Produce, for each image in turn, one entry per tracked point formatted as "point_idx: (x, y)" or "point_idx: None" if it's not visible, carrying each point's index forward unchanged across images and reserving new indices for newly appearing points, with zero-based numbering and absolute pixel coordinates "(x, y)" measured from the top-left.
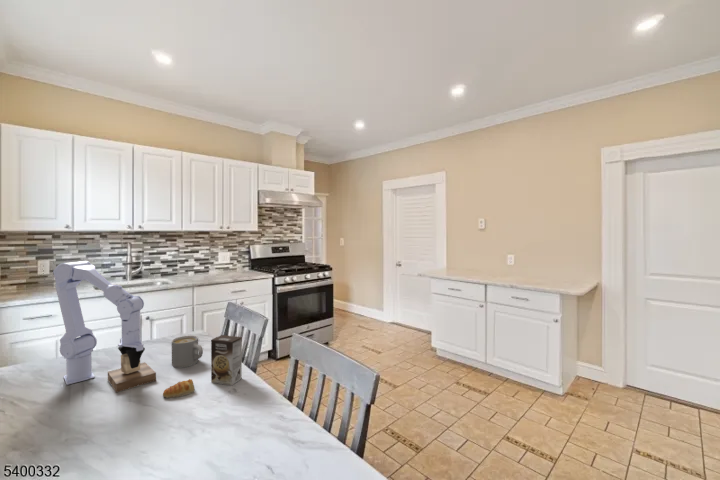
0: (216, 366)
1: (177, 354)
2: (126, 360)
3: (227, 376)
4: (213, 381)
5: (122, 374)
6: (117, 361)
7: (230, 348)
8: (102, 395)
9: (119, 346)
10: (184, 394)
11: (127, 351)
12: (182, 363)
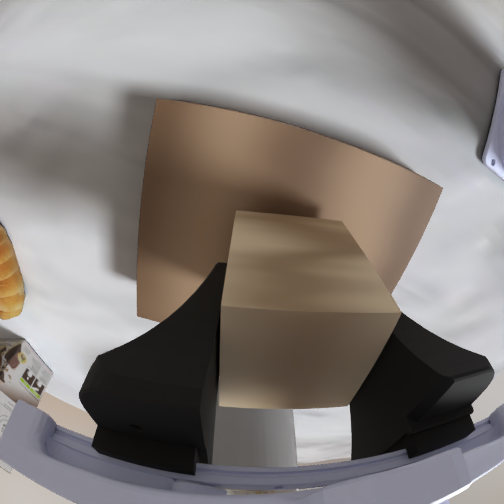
0: None
1: (216, 433)
2: (225, 283)
3: None
4: (18, 341)
5: (305, 206)
6: (500, 296)
7: None
8: (213, 39)
9: (368, 483)
10: None
11: (109, 395)
12: None
